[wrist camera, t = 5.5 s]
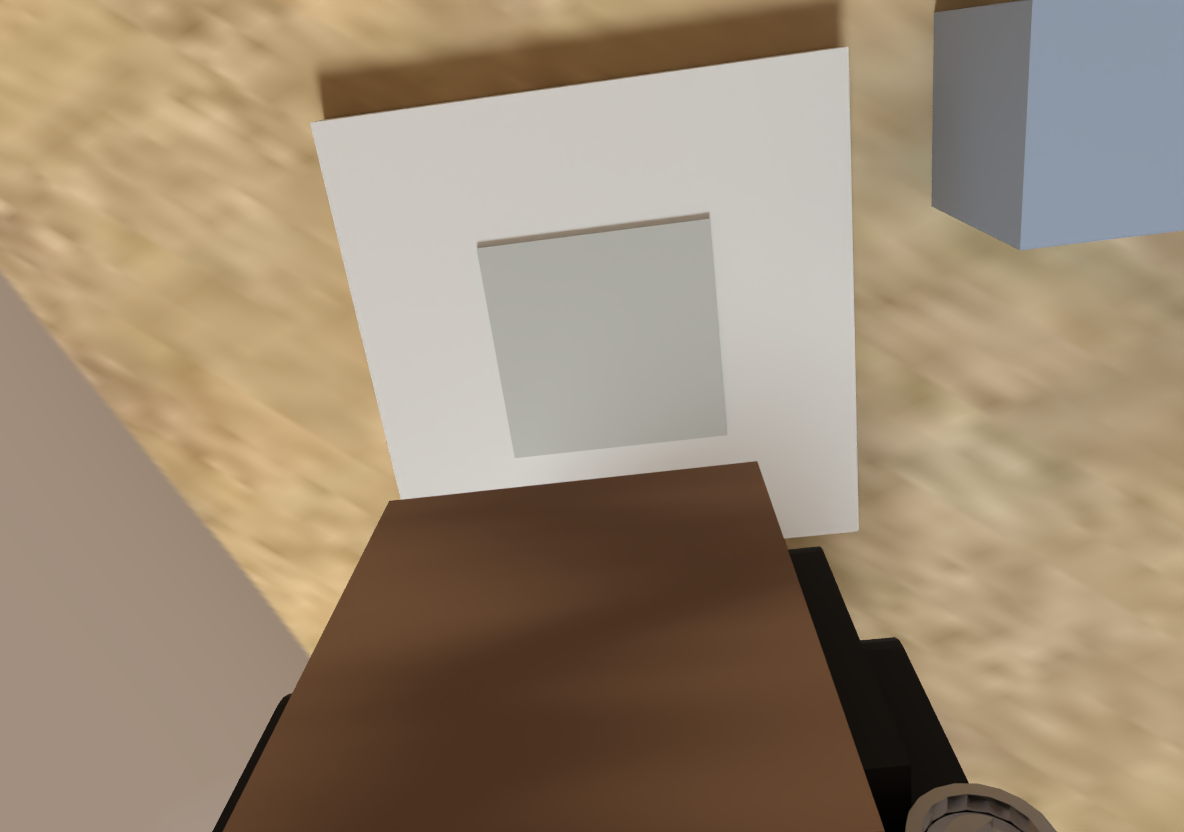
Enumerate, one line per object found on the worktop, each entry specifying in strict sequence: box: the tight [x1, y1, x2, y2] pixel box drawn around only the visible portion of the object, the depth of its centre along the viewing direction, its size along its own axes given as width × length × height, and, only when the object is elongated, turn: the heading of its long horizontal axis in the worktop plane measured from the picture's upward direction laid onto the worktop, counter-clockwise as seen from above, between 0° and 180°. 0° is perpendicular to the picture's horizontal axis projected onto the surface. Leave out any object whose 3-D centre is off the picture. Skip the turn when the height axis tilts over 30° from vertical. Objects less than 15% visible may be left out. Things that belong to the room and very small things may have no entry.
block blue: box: [932, 0, 1184, 250], centre depth 21 cm, size 5×5×6 cm
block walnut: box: [223, 461, 885, 832], centre depth 10 cm, size 5×5×6 cm
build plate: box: [310, 47, 859, 539], centre depth 26 cm, size 14×14×1 cm
